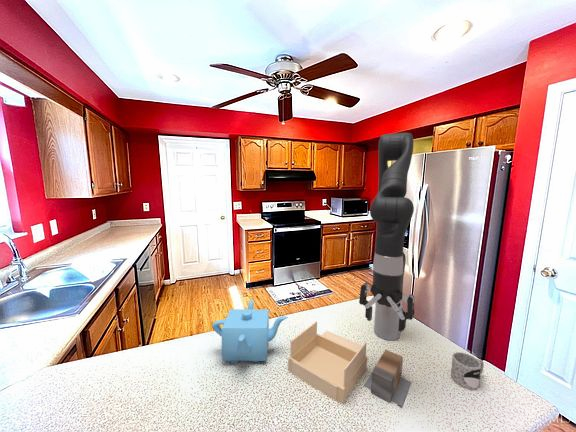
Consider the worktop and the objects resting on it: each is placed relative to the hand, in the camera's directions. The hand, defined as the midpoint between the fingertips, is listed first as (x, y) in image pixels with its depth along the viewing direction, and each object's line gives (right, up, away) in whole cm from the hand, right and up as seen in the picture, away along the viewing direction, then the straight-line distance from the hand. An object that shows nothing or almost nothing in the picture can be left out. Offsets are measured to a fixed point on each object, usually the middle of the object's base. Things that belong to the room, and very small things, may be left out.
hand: (384, 324), depth 68 cm
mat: (+1, -18, 0) cm, 18 cm away
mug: (+26, -18, +3) cm, 32 cm away
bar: (+1, -17, 0) cm, 17 cm away
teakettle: (-40, -16, +13) cm, 45 cm away
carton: (-14, -17, +7) cm, 23 cm away
